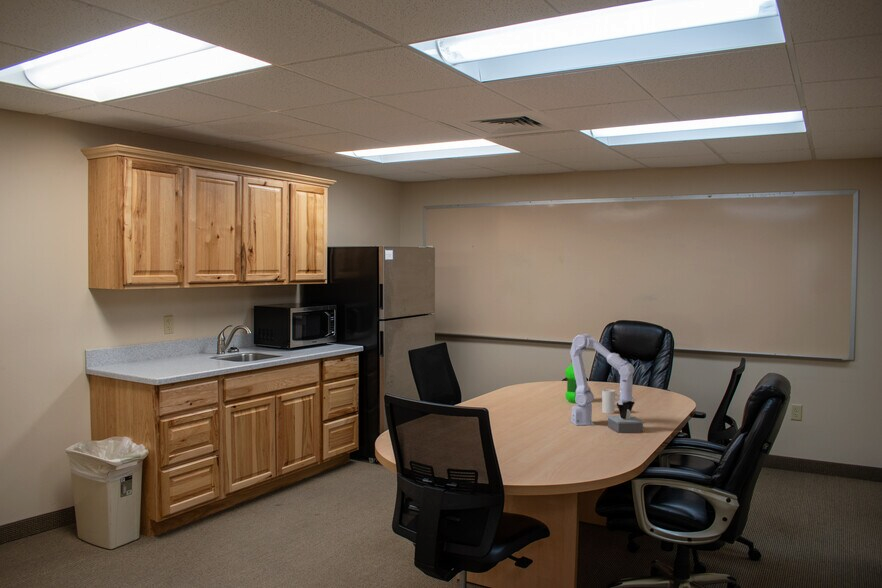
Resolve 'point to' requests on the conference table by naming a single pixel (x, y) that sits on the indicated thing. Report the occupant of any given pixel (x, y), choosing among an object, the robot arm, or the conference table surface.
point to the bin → (625, 427)
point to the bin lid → (625, 421)
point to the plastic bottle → (571, 384)
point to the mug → (609, 401)
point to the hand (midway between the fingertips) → (625, 417)
